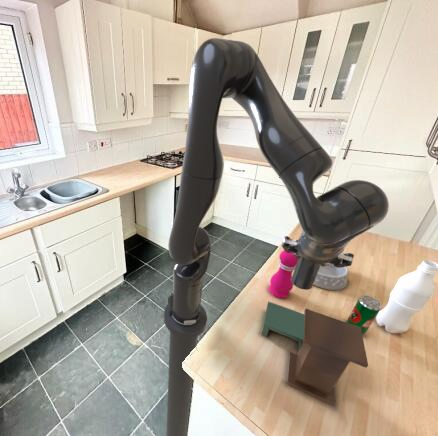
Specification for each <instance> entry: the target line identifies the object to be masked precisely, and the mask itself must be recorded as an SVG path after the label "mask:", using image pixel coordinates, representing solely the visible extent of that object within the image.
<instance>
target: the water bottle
mask: <svg viewBox="0 0 438 436" xmlns="http://www.w3.org/2000/svg"><path fill="white" fill-rule="evenodd" d="M416 267H417V269H416V270H413V271H411V272H408V273H406V274H404V275H402V276H401V277H399V278H398V280H397V282H396V284H395V286H394V287H393V289H392V290H391V291H390V292H389V299H388V302H387V304H386V305H385V306H384V307H383V308H382V309H381V310H380V311H379V313H378V314H377V316H376V318H375V319H376V320H375V321H376V323H377V325H378V326H380V327H385V331H386V332H387V333H389V334H403V333H404V334H405V332H407V331H408V330H409V329H410V326H411V325H410V324H411V319H412V317H413V316H414V315H415V314H417V313H419V312H422V311H423V310H424V308H425V306H426V305H427V304H428V302H429V300H430V299H431V298H432V297H433V296H434V295H435V292H436V285H435V280H434V276H436V275H437V272H438V263H437V262H435V261H433V260H429V259H424V260H422V262H421V263H420V264H419V265H417V266H416Z"/></svg>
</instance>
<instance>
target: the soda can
mask: <svg viewBox="0 0 438 436" xmlns="http://www.w3.org/2000/svg"><path fill="white" fill-rule="evenodd" d="M381 310H382V303H381V301H380V300H378V299H377V298H375V297H373V296H370V295H362V296H360V297H358V299H357V300H356V303H355V304H354V306H353V309H351V312H350V314H349V316H348V317H347V319H346V321H345V322H347V323H350V324H353V325H355V326H358V327H361V331H362V335H366V333H367V332H368V330H369V328H370V327H371V325H372V324H373V323H374V321H375V319H376V317H377V314H378V313H379V311H381Z"/></svg>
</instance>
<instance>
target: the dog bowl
mask: <svg viewBox="0 0 438 436" xmlns="http://www.w3.org/2000/svg"><path fill="white" fill-rule="evenodd" d="M348 277H349V268H348V266H346V267H341V268H337V267H335V266H334V264H331V265H329V266H324V267H323V266H321V267H320V269H319V271H318V274H317V276H316V279H315V281H314V284H313V286H315V287H318V288H320V289H324V290H330V291H339V290H342V289H344V288H346V287H347V284H348Z"/></svg>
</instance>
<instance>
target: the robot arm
mask: <svg viewBox="0 0 438 436" xmlns="http://www.w3.org/2000/svg"><path fill="white" fill-rule="evenodd" d="M189 76H190V78H189V88H188V89H189V91H188V111H187V112H188V115H187V127H186V136H185V137H186V138H185V146H184V154H183V160H182V165H181V173H180V179H179V180H180V181H179V190H178V196H177V203H176V207H175V208H176V209H175V215H174V219H173V223H172V227H171V231H170V235H169V238H168V253H169V257H170V259H171V260H172V261H173V263H174V266H173V269H172V291H171V293H170V294H169V295H168V296H167V304H168V303H169V304H170V308H169V316H171V317H172V318H173V320H174V321H175V322H176V323H177V324H179V325H182V326H192V325H194V324H196V323H197V322H198V320H199V316H200V305H201V303H202V296H203V287H204V279H205V275H206V273H207V271H208V268H209V263H210V257H211V252H212V241H211V237H210V235H209V234H208V231H207V230H206V229H205V228H203V227H201V226H200V225H201V224H202V222H203V220H204V218H205V217H206V215H207V214H208V212H209V210H210V209H211V207H212V205H213V203H214V202H215V200H216V198H217V195H218V193H219V190H220V186H221V183H222V178H223V174H224V170H225V169H224V168H225V167H224V166H225V161H224V155H223V151H222V147H221V144H220V140H219V136H218V121H219V116H220V115H219V114H220V110H221V106H222V102H223V99H232V100H233V101H235V102H236V103H237V104H238V105H239V106H240V107H241V108H242V109H243V110H244V111H245V112H246V114H247V115H248V117H249V118H250V120H251V122H252V123H251V124H252V126H253V130H254V134H255V138H256V142H257V145H258V148H259V150H260V152H261V154H262V156H263V157H264V159H265V160H266V162H267V163H268V164H269V166H270V167H271V168H272V170H273V171H274V172H275V174H276V175H277V176H278V177H279V180H281V182H282V183H283V185H284V187H285V189H286V190H287V193H288V194H289V197H290V199H291V202H292V204H293V207H294V210H295V213H296V215H297V216H296V217H297V219H298V222H299V225H300V228H301V229H302V230H301V232H300V234H299V237H298V239H297V240H293V239H292V238H291V237H290V236H287V235H285V236H283V240H282V241H281V242H282V243H281V247H282V249H283V251H284V250H285V252H287V253H290V252H292V253H293V256H295V258H297V259H298V257H299V256H300V257H303V258H305V259H306V260H308V261H310V262H312V263H316V264H321V266H323V267H324V266H329V265H331V264H334V266H335V267H337V268H341V267H351V266H352V264H353V260H354V257H355V254H353V253H351V252H347V253H344V251H345V249H346V247H347V246H348V245H349V244H350V243H351V242H352V240H354V239H355V238H357V237H359V236H360V235H362V234H364V233H365V232H367V231H369V230H371V229H372V228H374V227H376V226H377V225H379V224H380V223H382V221H384V219H385V218H386V217H387V215H388V213H389V210H390V209H389V208H390V204H389V203H390V202H389V198H388V196H387V194H386V192H384V190H383V189H382V188H381V187H380V186H379V185H377V184H375V183H374V182H371V181H368V180H362V179H351V180H348V181H345V182H341V184H338V185H337V186H334V187H333V188H331V189H329V190H327V191H326V192H323V193H322V194H320V195H317V196H316V195H315V191H314V184H315V183H316V182H317V181H319V179H321V178H322V177H323V176H325V175H326V173H328V172H329V171H330V170H331V169H332V167H333V165H334V162H333V159H332V157H331V155H330V154H329V153H328V152H327V151H326V150H325V148H323V147H324V146H322V145H321V144H320V142H319V141H318V140H317V139H316V138H315V137H314V136H313V135H312V133H311V132H310V131H309V130H308V129H307V127H305V125H304V124H303V123H302V122H301V120H300V119H298V117H297V115H296V114H295V113H294V112H293V111H292V109H291V108H290V107H289V105H288V104H287V103H286V101H285V100H284V98H283V97H282V95H281V94H280V92H279V90H278V88H277V87H276V85H275V84H274V82H273V81H272V79H271V76H270V75H269V73H268V72H267V70H266V68H265V66H264V64H263V62H262V60H261V59H260V56H259V55H258V53H257V52H256V50H255V49H254V48H253V47H252V45H250V44H249V43H246V42H245V41H241V40H233V39H227V38H219V37H218V38H217V37H213V38H208V39H206V40H205V41H203V42H202V43H201V44H200V46H199V47H198V49H197V50H196V52H195V55H194V56H193V60H192V64H191V69H190V75H189ZM201 306H202V305H201Z"/></svg>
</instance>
